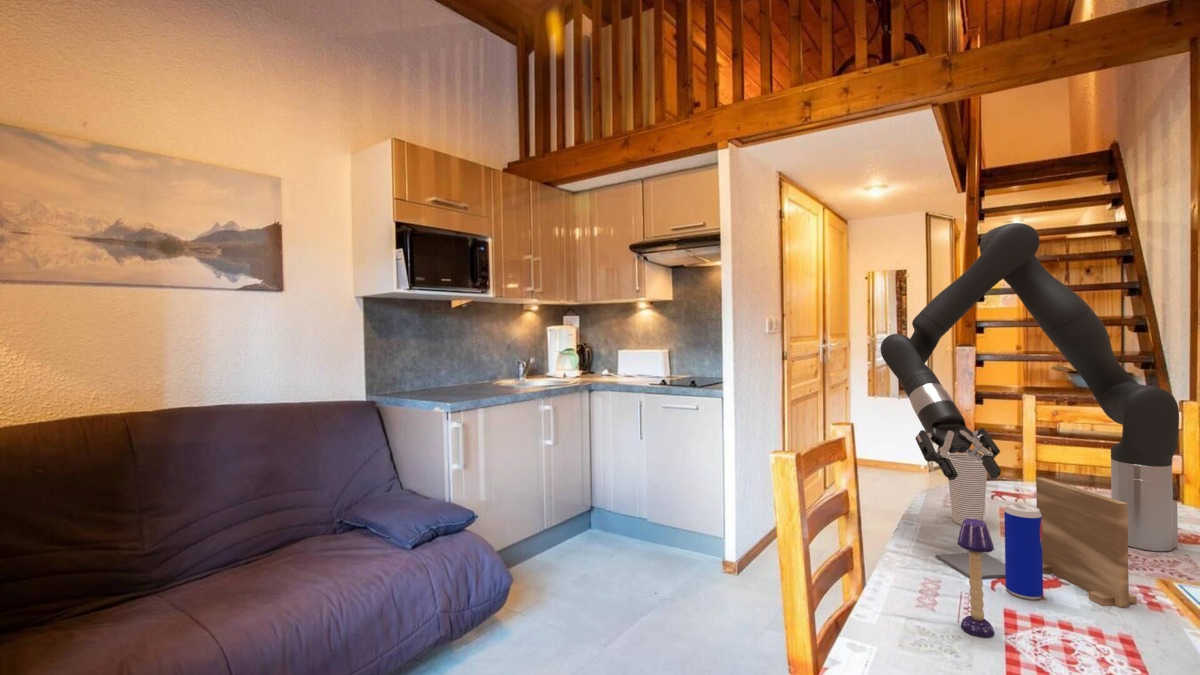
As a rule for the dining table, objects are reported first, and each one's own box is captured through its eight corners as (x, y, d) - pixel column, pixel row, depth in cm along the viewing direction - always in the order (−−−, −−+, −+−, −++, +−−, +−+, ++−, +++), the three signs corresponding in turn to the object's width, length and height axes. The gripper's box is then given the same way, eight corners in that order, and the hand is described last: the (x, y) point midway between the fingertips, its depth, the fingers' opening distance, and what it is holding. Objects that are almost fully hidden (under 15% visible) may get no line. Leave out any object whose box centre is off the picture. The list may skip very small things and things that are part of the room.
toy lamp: (951, 622, 88) (949, 516, 87) (979, 620, 88) (977, 515, 88) (974, 639, 83) (972, 527, 83) (1004, 636, 83) (1002, 525, 83)
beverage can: (1049, 601, 93) (1048, 512, 93) (1015, 599, 94) (1013, 511, 94) (1032, 587, 98) (1031, 503, 98) (999, 585, 99) (998, 502, 99)
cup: (950, 526, 129) (949, 459, 128) (943, 515, 136) (942, 452, 136) (994, 530, 125) (993, 462, 125) (984, 518, 133) (983, 454, 133)
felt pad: (983, 555, 112) (983, 552, 112) (1023, 576, 102) (1023, 573, 102) (935, 557, 112) (935, 554, 112) (971, 579, 102) (971, 576, 102)
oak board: (1056, 565, 107) (1055, 477, 107) (1141, 606, 91) (1140, 502, 91) (1026, 566, 107) (1025, 478, 106) (1106, 608, 91) (1105, 504, 91)
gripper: (910, 399, 115) (948, 468, 104) (976, 397, 116) (1021, 465, 105) (896, 421, 121) (931, 488, 109) (959, 419, 122) (1000, 485, 110)
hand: (975, 477), depth 107 cm, fingers open, 8 cm apart
